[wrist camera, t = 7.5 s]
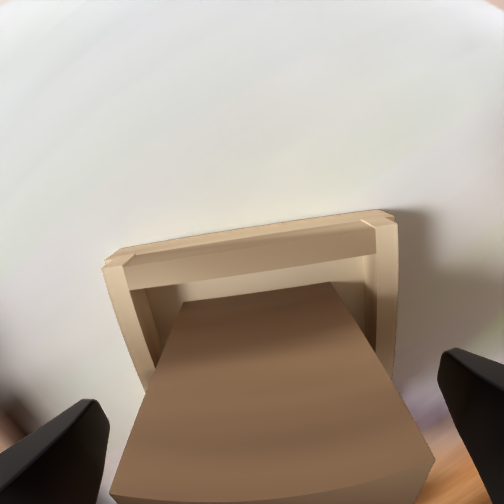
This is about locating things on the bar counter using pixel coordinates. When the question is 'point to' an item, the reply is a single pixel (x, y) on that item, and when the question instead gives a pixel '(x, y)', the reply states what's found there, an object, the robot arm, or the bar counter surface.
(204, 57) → the bar counter surface
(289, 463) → the beige cardboard cube
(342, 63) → the bar counter surface
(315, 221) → the rail
